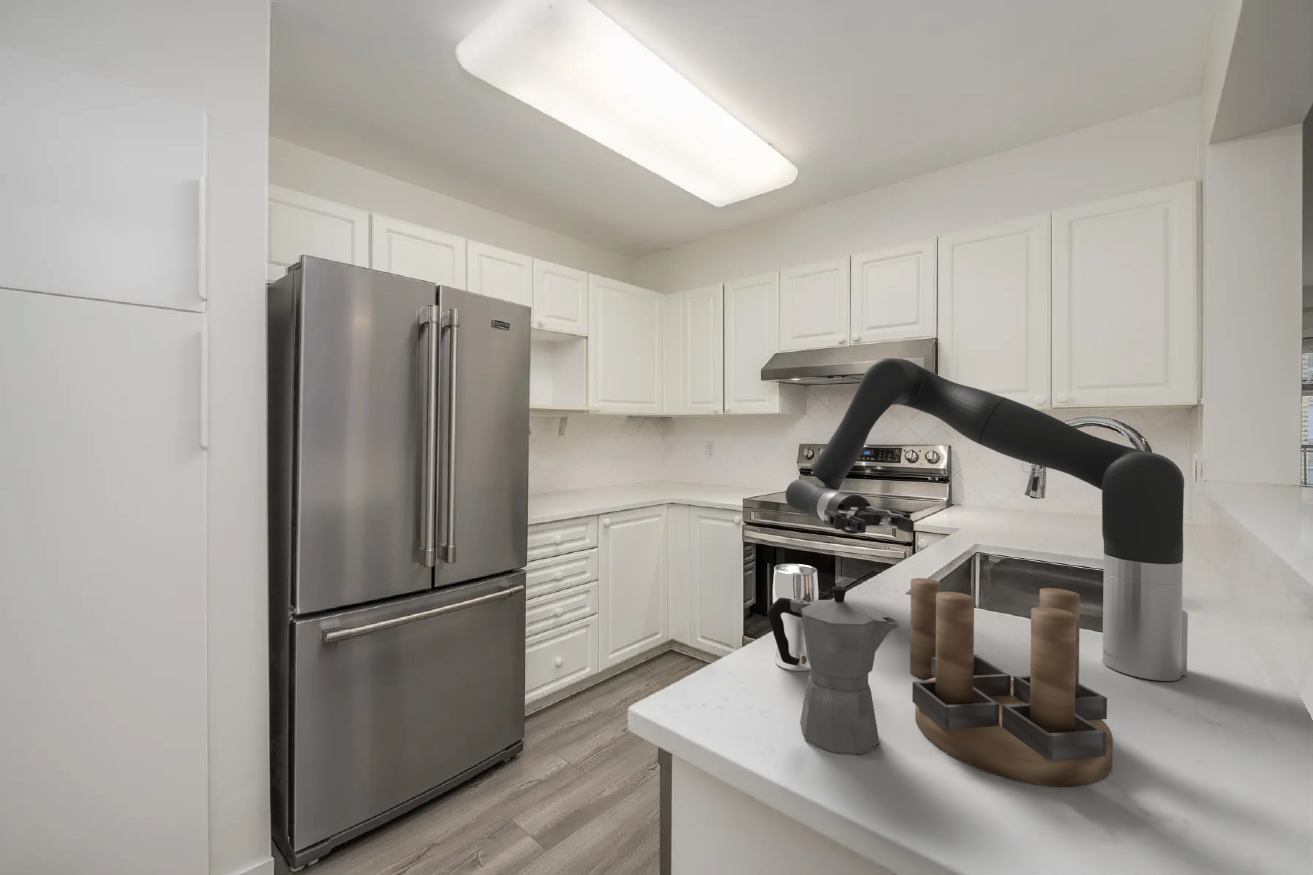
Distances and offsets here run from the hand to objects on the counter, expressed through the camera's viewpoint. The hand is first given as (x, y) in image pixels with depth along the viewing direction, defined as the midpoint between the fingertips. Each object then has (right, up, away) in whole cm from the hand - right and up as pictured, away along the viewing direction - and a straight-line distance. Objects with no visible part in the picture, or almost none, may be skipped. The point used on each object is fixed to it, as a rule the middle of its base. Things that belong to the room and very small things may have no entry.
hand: (887, 526), depth 96 cm
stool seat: (+3, -21, -27) cm, 34 cm away
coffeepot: (-18, -21, -26) cm, 38 cm away
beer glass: (-17, -21, -6) cm, 28 cm away
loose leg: (+1, -21, -10) cm, 23 cm away
